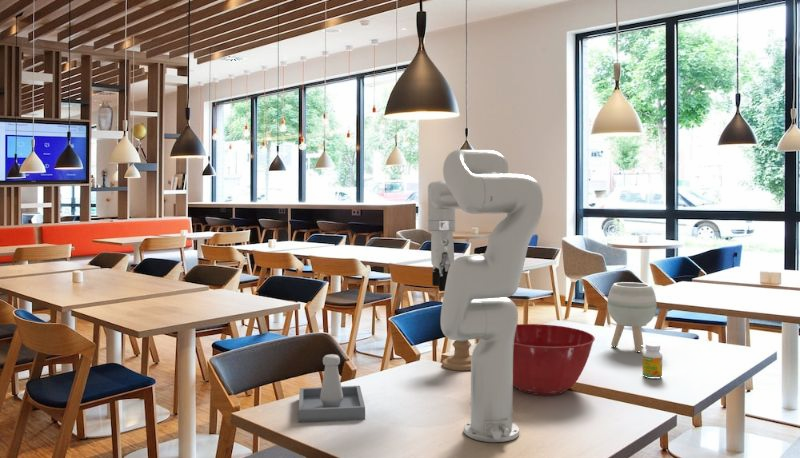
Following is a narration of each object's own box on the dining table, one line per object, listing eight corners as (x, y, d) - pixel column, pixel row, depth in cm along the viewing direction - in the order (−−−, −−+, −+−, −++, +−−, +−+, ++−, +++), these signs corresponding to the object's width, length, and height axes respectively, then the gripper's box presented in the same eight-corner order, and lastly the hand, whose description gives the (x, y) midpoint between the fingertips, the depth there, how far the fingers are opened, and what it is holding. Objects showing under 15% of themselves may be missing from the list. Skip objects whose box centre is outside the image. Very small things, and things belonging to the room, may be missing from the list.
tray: (365, 419, 166) (365, 407, 165) (298, 422, 164) (298, 410, 163) (359, 396, 183) (359, 385, 183) (299, 399, 181) (299, 388, 181)
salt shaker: (339, 410, 170) (338, 358, 169) (317, 408, 171) (316, 357, 170) (345, 402, 176) (345, 353, 175) (324, 401, 177) (324, 352, 176)
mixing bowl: (593, 377, 201) (594, 326, 200) (594, 408, 173) (595, 348, 172) (497, 371, 208) (498, 321, 207) (483, 399, 181) (483, 341, 180)
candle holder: (449, 372, 207) (450, 306, 206) (436, 362, 219) (437, 300, 217) (487, 369, 210) (487, 304, 209) (472, 359, 222) (473, 298, 221)
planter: (596, 346, 240) (597, 283, 239) (631, 341, 247) (632, 280, 246) (629, 356, 226) (631, 289, 224) (666, 351, 233) (667, 286, 231)
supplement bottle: (641, 378, 200) (641, 345, 200) (643, 373, 205) (644, 341, 205) (660, 380, 198) (661, 347, 197) (663, 376, 203) (663, 343, 202)
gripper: (461, 228, 179) (461, 292, 180) (448, 224, 196) (448, 283, 198) (433, 228, 178) (433, 293, 179) (422, 224, 195) (422, 284, 197)
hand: (441, 288), depth 189 cm, fingers open, 9 cm apart
